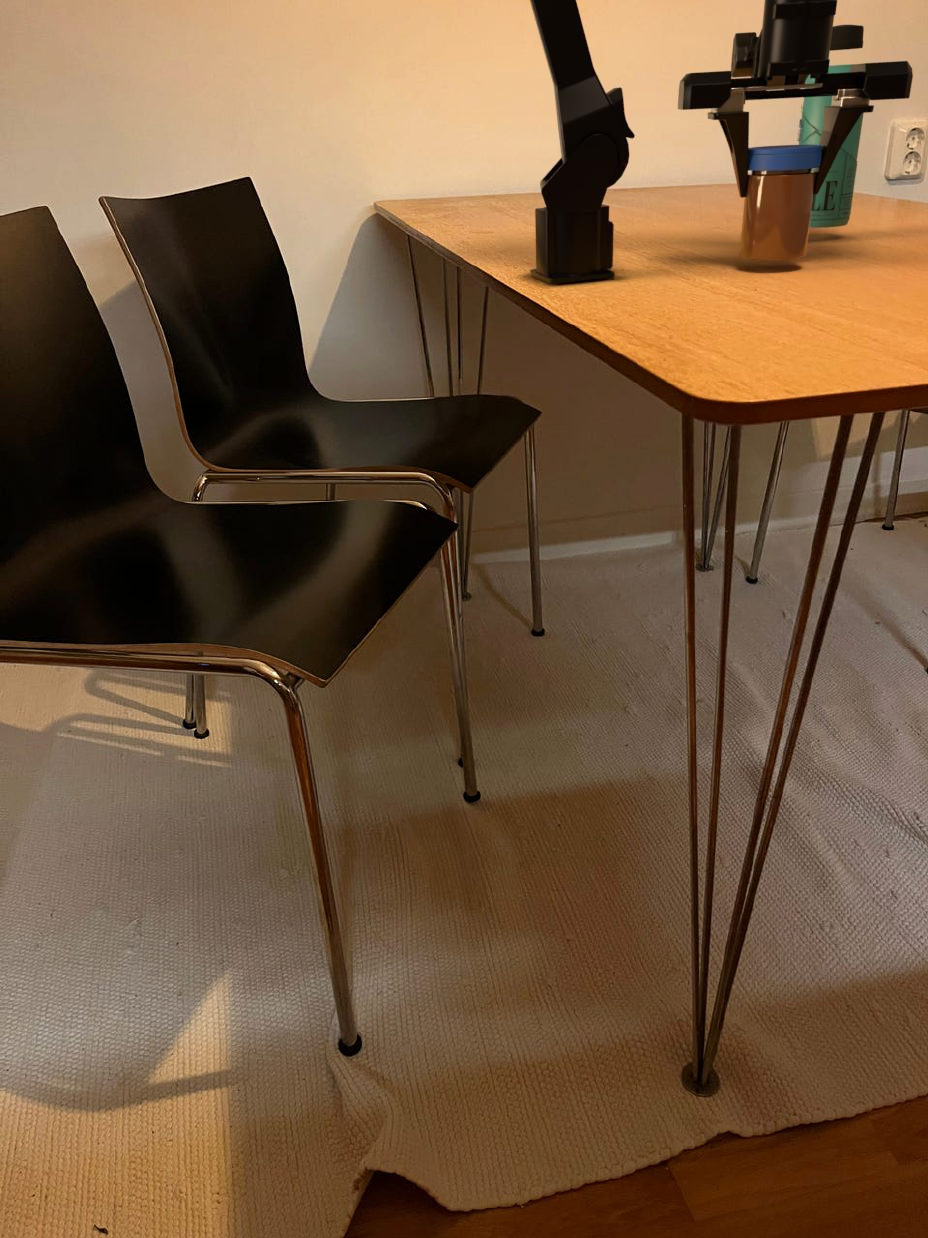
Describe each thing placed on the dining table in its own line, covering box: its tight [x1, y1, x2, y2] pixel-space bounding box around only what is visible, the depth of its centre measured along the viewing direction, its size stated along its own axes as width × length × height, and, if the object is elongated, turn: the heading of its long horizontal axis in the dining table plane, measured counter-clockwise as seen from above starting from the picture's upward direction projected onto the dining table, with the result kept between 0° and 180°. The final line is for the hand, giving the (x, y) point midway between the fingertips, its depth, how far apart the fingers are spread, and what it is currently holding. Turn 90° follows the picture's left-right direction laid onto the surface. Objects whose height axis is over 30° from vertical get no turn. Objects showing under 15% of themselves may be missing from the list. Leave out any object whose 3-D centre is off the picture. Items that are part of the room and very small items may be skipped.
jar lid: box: [748, 144, 822, 172], centre depth 82 cm, size 6×6×2 cm
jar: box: [738, 169, 816, 261], centre depth 84 cm, size 6×6×8 cm
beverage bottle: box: [796, 24, 865, 229], centre depth 97 cm, size 6×7×20 cm
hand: (778, 195), depth 84 cm, fingers closed on jar, jar lid, 6 cm apart
